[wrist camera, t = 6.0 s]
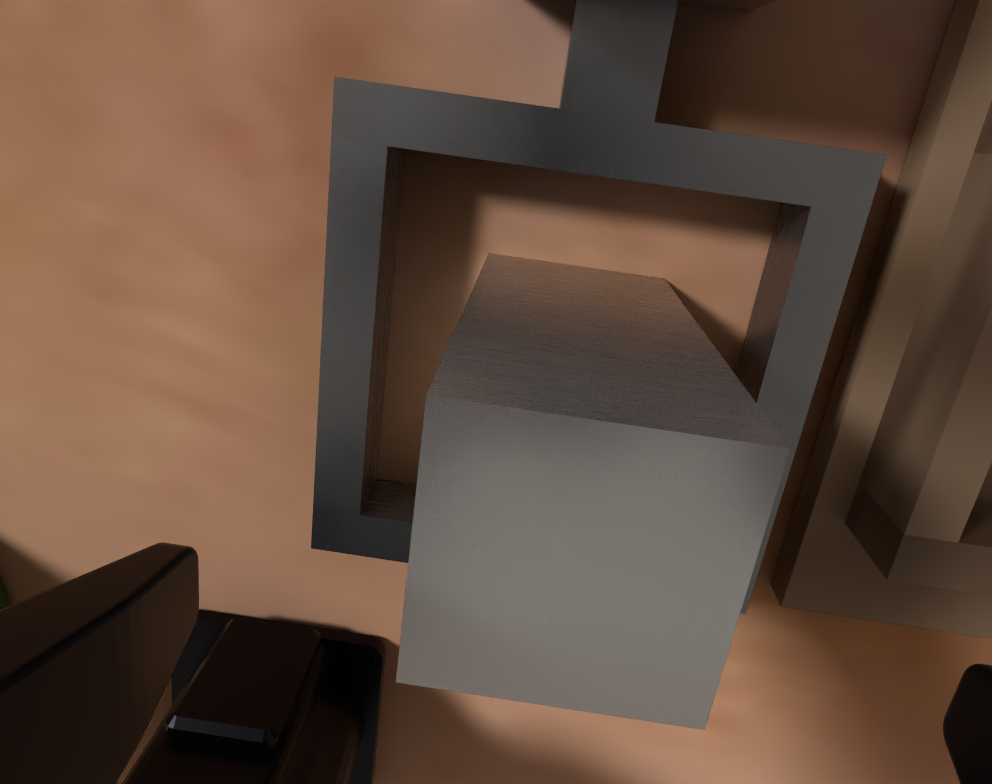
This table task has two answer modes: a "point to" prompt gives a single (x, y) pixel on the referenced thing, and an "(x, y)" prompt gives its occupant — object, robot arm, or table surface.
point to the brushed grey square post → (584, 499)
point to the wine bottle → (3, 597)
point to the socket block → (585, 150)
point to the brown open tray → (914, 386)
